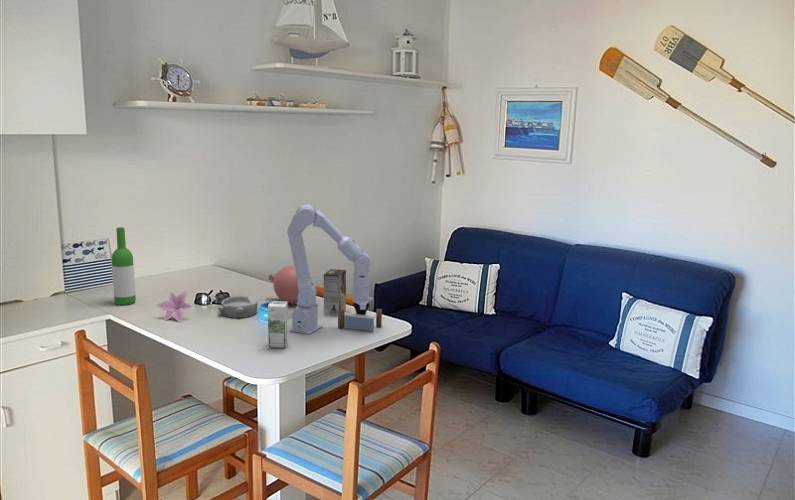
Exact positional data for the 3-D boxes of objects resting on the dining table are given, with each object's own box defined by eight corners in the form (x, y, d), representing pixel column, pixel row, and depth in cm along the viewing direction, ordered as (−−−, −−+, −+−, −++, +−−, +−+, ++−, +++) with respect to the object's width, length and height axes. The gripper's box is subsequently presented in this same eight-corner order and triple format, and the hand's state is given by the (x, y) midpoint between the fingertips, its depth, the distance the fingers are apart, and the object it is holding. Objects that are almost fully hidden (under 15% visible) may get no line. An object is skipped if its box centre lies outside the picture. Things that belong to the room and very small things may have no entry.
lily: (155, 319, 237) (150, 301, 231) (180, 301, 245) (176, 283, 238) (177, 334, 232) (172, 316, 226) (202, 315, 240) (198, 297, 233)
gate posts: (338, 328, 228) (338, 311, 227) (337, 326, 231) (337, 309, 229) (381, 327, 230) (382, 310, 229) (381, 325, 233) (381, 308, 231)
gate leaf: (344, 327, 228) (344, 314, 227) (345, 326, 230) (345, 312, 229) (372, 331, 225) (373, 317, 224) (374, 329, 227) (374, 316, 226)
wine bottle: (133, 299, 257) (129, 225, 251) (137, 304, 251) (133, 228, 245) (113, 301, 253) (107, 227, 247) (116, 306, 247) (111, 230, 241)
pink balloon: (283, 293, 271) (282, 258, 267) (320, 301, 260) (320, 264, 257) (257, 302, 258) (256, 264, 255) (295, 311, 247) (294, 272, 244)
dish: (239, 305, 253) (238, 293, 252) (265, 312, 246) (265, 299, 245) (211, 315, 241) (211, 302, 240) (238, 321, 234) (238, 308, 233)
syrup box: (288, 342, 214) (287, 300, 211) (285, 348, 208) (285, 305, 205) (271, 342, 214) (270, 300, 210) (268, 348, 208) (267, 305, 205)
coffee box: (330, 308, 252) (330, 268, 249) (346, 309, 251) (346, 269, 247) (323, 315, 243) (323, 274, 240) (339, 316, 242) (339, 275, 239)
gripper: (374, 291, 220) (374, 329, 223) (370, 280, 234) (369, 316, 237) (354, 292, 219) (353, 329, 222) (351, 281, 233) (350, 316, 236)
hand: (360, 322), depth 229 cm, fingers closed, pressing on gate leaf
